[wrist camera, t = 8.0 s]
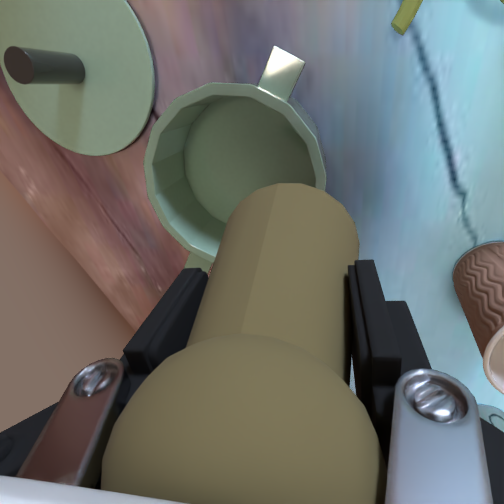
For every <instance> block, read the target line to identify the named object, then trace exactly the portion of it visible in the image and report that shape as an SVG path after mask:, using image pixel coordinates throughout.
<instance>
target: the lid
mask: <svg viewBox="0 0 504 504" xmlns="http://www.w3.org/2000/svg"><path fill="white" fill-rule="evenodd" d="M0 64H1V67H2V70H3V73H4V76H5V79H6V81H7V83H8V85H9V88H10V90H11V92H12V94H13V95H14V97H15V99H16V101H17V102H18V104H19V105H20V107H21V108H22V110H23V111H24V113H25V114H26V115H27V116H28V118H29V119H30V120H31V121H32V122H33V123H34V125H35V126H36V127H37V128H38V129H39V130H40V131H42V132H43V133H44V134H45V135H46V136H47V137H49V138H50V139H51V140H53V141H54V142H56V143H57V144H59V145H61V146H63V147H64V148H66V149H69V150H71V151H73V152H77V153H80V154H84V155H90V156H102V155H109V154H112V153H115V152H118V151H120V150H122V149H124V148H126V147H127V146H129V145H130V144H131V143H133V142H134V141H135V140H136V138H137V137H138V136H139V135H140V134H141V132H142V131H143V129H144V128H145V126H146V123H147V121H148V119H149V116H150V113H151V110H152V106H153V100H154V90H155V78H154V67H153V61H152V56H151V52H150V48H149V45H148V42H147V39H146V37H145V34H144V31H143V29H142V27H141V25H140V23H139V21H138V19H137V17H136V15H135V14H134V12H133V10H132V9H131V7H130V5H129V4H128V3H127V2H126V0H0Z"/></svg>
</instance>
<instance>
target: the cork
mask: <svg viewBox="0 0 504 504" xmlns="http://www.w3.org/2000/svg"><path fill="white" fill-rule="evenodd" d="M358 257H359V239H358V234H357V230H356V226H355V222H354V221H353V219H352V218H351V216H350V215H349V214H348V212H347V211H346V209H345V208H344V206H343V205H342V204H341V203H340V202H338V201H337V200H336V199H334V198H333V197H332V196H330V195H329V194H327V193H326V192H325V191H323V190H320V189H317V188H314V187H311V186H308V185H305V184H302V183H277V184H274V185H270V186H267V187H264V188H261V189H257V190H256V191H254V192H253V193H251V194H250V195H249V196H247V197H246V198H245V199H243V200H242V201H240V202H239V204H238V205H237V207H236V208H235V209H234V211H233V212H232V214H231V215H230V217H229V218H228V221H227V224H226V227H225V230H224V233H223V236H222V239H221V242H220V245H219V248H218V252H217V255H216V258H215V261H214V264H213V267H212V270H211V273H210V276H209V279H208V282H207V285H206V288H205V291H204V294H203V297H202V300H201V303H200V306H199V309H198V312H197V315H196V318H195V321H194V324H193V327H192V330H191V333H190V336H189V339H188V342H187V345H186V348H185V349H183V350H181V351H179V352H177V353H175V354H173V355H171V356H169V357H167V358H166V359H165V360H164V361H163V362H162V363H161V364H160V365H159V366H158V367H157V368H156V369H155V370H154V371H153V372H152V373H151V374H150V375H149V376H148V377H147V378H146V379H145V380H144V382H143V383H142V384H141V385H140V387H139V388H138V389H137V391H136V392H135V393H134V394H133V396H132V397H131V399H130V400H129V402H128V403H127V405H126V406H125V408H124V410H123V411H122V413H121V414H120V416H119V418H118V419H117V421H116V422H115V424H114V426H113V429H112V432H111V435H110V438H109V441H108V444H107V447H106V450H105V453H104V456H103V459H102V475H101V490H104V491H111V492H117V493H124V494H130V495H136V496H143V497H149V498H156V499H162V500H168V501H175V502H181V503H187V504H385V497H386V486H387V475H388V473H387V468H386V463H385V460H384V456H383V453H382V450H381V446H380V443H379V439H378V436H377V434H376V431H375V429H374V427H373V424H372V422H371V420H370V417H369V415H368V413H367V410H366V408H365V406H364V405H363V403H362V402H361V401H360V400H359V399H358V397H357V396H356V395H355V394H354V393H353V392H352V390H351V389H350V388H349V386H350V371H351V357H352V343H353V328H352V316H351V304H350V291H349V281H348V265H354V261H355V260H358Z"/></svg>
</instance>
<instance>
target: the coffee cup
mask: <svg viewBox="0 0 504 504" xmlns="http://www.w3.org/2000/svg"><path fill="white" fill-rule="evenodd" d="M453 282H454V287H455V291H456V294H457V296H458V298H459V301H460V303H461V306H462V308H463V311H464V313H465V316H466V318H467V321H468V323H469V326H470V328H471V331H472V333H473V336H474V338H475V341H476V343H477V346H478V348H479V351H480V353H481V356H482V358H483V368H484V372H485V375H486V377H487V379H488V380H489V382H490V383H491V384H492V385H493V386H494V387H495V388H496V389H497V390H498V391H499V392H501V393H502V394H504V242H490V243H486V244H482V245H479V246H477V247H475V248H473V249H471V250H469V251H468V252H466V253H465V254H464V255H463V256H462V257H461V258H460V259H459V260H458V262H457V263H456V265H455V267H454V270H453ZM493 377H494V378H493ZM495 380H496V381H495Z"/></svg>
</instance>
